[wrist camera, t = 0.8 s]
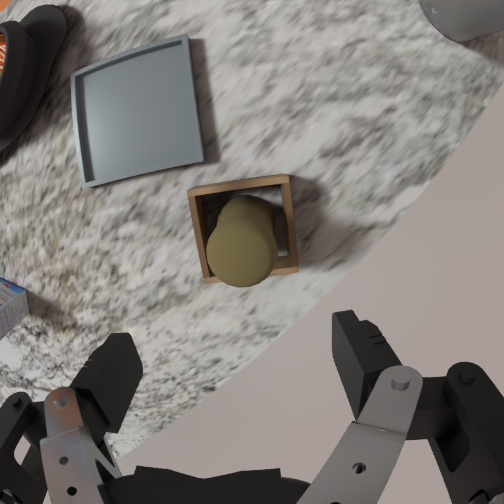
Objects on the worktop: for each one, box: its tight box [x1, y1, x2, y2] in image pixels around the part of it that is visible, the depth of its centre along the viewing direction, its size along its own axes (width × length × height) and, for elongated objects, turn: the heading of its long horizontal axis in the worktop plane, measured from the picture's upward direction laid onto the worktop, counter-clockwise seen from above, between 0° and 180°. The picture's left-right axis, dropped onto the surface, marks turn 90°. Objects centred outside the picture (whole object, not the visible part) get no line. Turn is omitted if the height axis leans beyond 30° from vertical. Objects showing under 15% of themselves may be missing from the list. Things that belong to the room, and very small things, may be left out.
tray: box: [70, 34, 206, 189], centre depth 26 cm, size 14×14×2 cm
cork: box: [206, 195, 278, 287], centre depth 25 cm, size 6×6×11 cm
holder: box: [187, 174, 299, 284], centre depth 29 cm, size 9×9×4 cm
